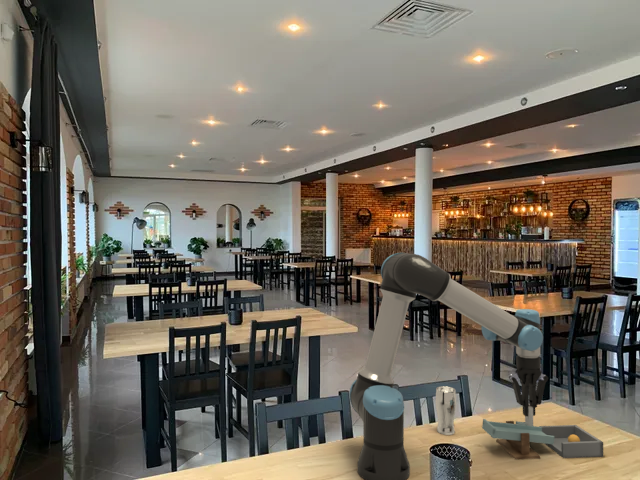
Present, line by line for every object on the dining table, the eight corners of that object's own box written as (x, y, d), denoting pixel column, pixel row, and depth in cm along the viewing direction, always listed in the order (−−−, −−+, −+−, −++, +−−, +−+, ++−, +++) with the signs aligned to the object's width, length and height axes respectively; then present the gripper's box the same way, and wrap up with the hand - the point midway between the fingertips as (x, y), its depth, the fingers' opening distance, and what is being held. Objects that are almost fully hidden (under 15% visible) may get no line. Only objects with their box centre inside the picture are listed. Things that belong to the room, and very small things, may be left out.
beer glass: (433, 433, 167) (433, 390, 167) (438, 426, 174) (438, 385, 173) (453, 437, 164) (453, 393, 164) (458, 429, 170) (457, 387, 170)
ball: (584, 439, 154) (580, 449, 154) (577, 434, 158) (573, 444, 158) (574, 435, 154) (570, 445, 154) (567, 431, 157) (564, 441, 157)
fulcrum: (515, 459, 147) (515, 435, 147) (496, 441, 160) (496, 420, 160) (540, 458, 148) (540, 435, 148) (519, 440, 161) (519, 419, 161)
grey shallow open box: (563, 458, 148) (563, 443, 148) (539, 439, 162) (539, 426, 162) (603, 456, 149) (603, 442, 149) (575, 438, 163) (575, 424, 163)
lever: (493, 438, 149) (494, 428, 149) (473, 419, 164) (474, 411, 164) (554, 444, 151) (555, 435, 151) (529, 425, 166) (530, 417, 166)
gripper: (515, 359, 158) (516, 430, 158) (552, 357, 159) (553, 428, 159) (504, 353, 166) (505, 421, 166) (540, 352, 166) (541, 420, 167)
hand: (529, 425), depth 162 cm, fingers closed
